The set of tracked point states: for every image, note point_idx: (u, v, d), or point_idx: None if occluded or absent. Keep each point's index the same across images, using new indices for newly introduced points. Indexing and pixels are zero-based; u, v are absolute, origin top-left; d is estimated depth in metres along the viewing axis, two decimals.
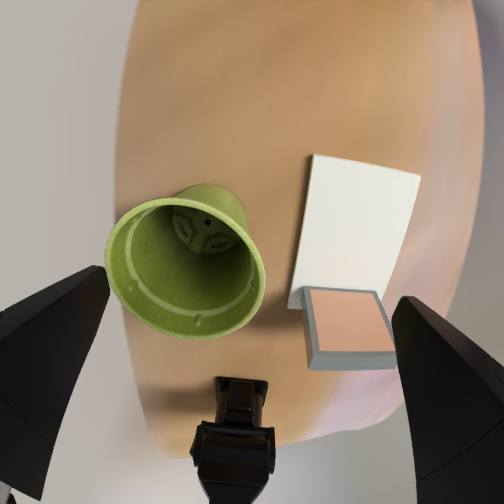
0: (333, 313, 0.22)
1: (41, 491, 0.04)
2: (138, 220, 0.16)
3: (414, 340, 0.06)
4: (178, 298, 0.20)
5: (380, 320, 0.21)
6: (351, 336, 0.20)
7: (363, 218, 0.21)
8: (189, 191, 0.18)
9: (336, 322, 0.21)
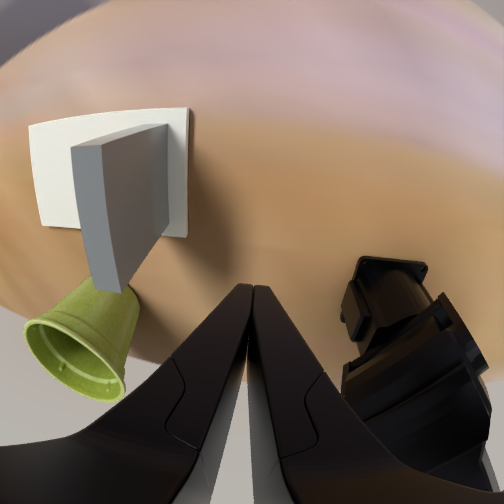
0: None
1: None
2: (68, 364, 0.20)
3: (250, 335, 0.07)
4: (124, 360, 0.20)
5: None
6: None
7: (68, 172, 0.18)
8: None
9: None
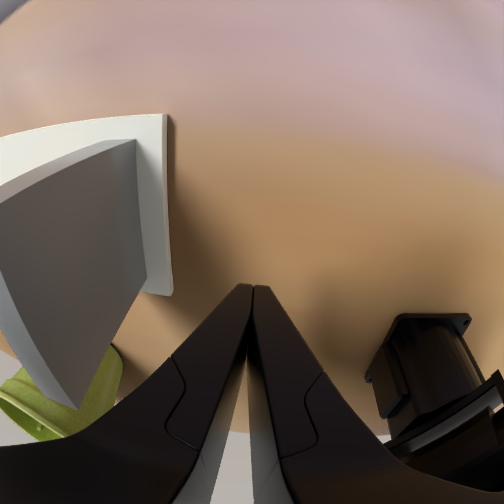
0: None
1: None
2: None
3: (249, 335, 0.07)
4: None
5: None
6: None
7: None
8: None
9: None
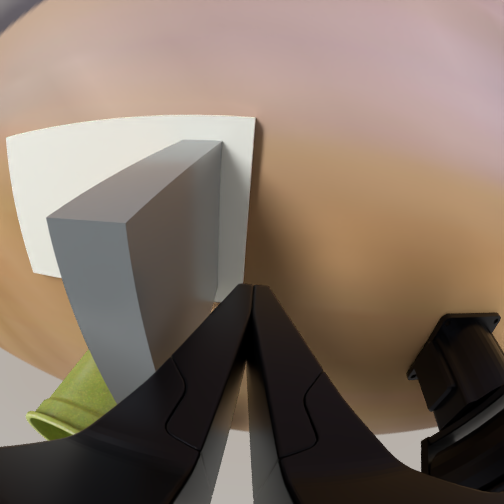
0: None
1: None
2: None
3: (249, 335, 0.07)
4: None
5: None
6: None
7: None
8: None
9: None
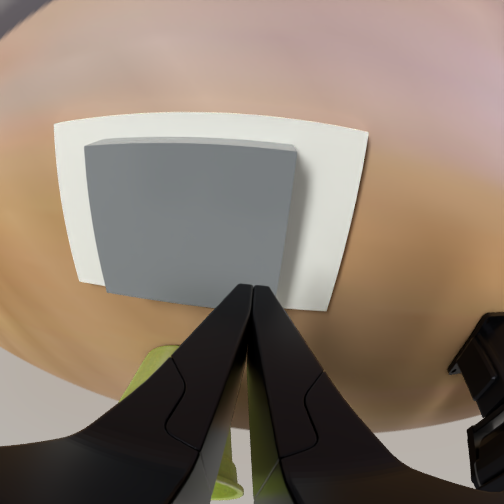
0: None
1: None
2: None
3: (250, 335, 0.07)
4: None
5: None
6: None
7: None
8: None
9: None
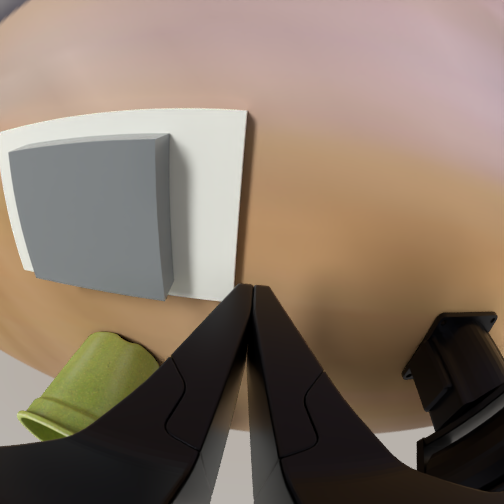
0: None
1: None
2: None
3: (250, 335, 0.07)
4: None
5: None
6: None
7: None
8: None
9: None
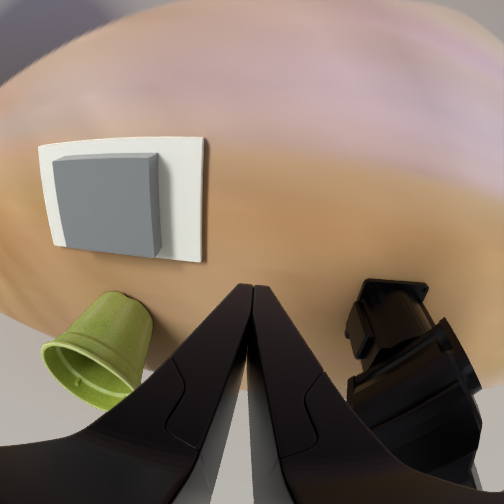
0: None
1: None
2: (83, 379, 0.21)
3: (249, 335, 0.07)
4: (140, 377, 0.21)
5: None
6: None
7: None
8: None
9: None
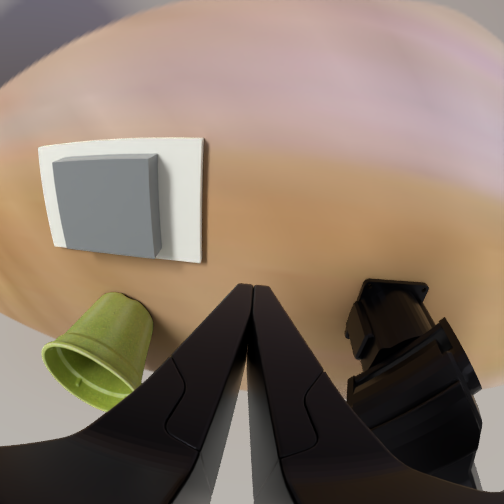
0: None
1: None
2: (84, 380, 0.21)
3: (250, 335, 0.07)
4: (140, 377, 0.21)
5: None
6: None
7: None
8: None
9: None
